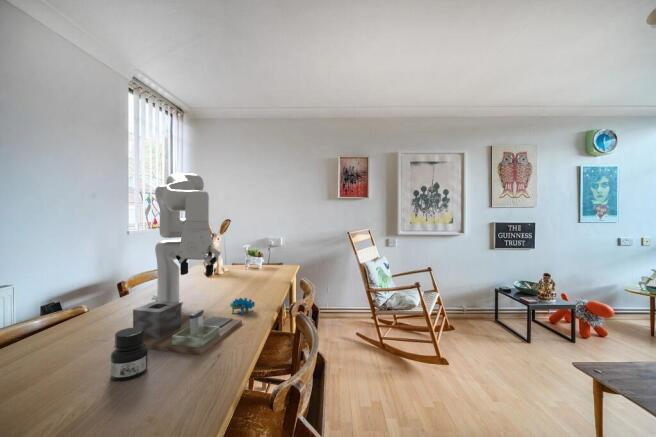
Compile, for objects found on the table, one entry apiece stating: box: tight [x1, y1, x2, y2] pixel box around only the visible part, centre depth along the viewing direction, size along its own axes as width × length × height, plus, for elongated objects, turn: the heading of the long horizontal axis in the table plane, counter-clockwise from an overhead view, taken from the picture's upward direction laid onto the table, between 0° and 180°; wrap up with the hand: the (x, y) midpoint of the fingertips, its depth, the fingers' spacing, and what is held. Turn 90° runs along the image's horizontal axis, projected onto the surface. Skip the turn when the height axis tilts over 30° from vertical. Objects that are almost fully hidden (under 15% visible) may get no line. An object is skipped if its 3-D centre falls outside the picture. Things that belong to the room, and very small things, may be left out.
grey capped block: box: [188, 309, 205, 338], centre depth 106 cm, size 6×3×9 cm, turn 169°
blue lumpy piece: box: [230, 297, 255, 315], centre depth 138 cm, size 11×6×10 cm
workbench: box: [132, 300, 243, 356], centre depth 115 cm, size 33×28×11 cm
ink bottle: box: [110, 326, 149, 381], centre depth 87 cm, size 10×9×12 cm
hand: (196, 275), depth 106 cm, fingers open, 9 cm apart
